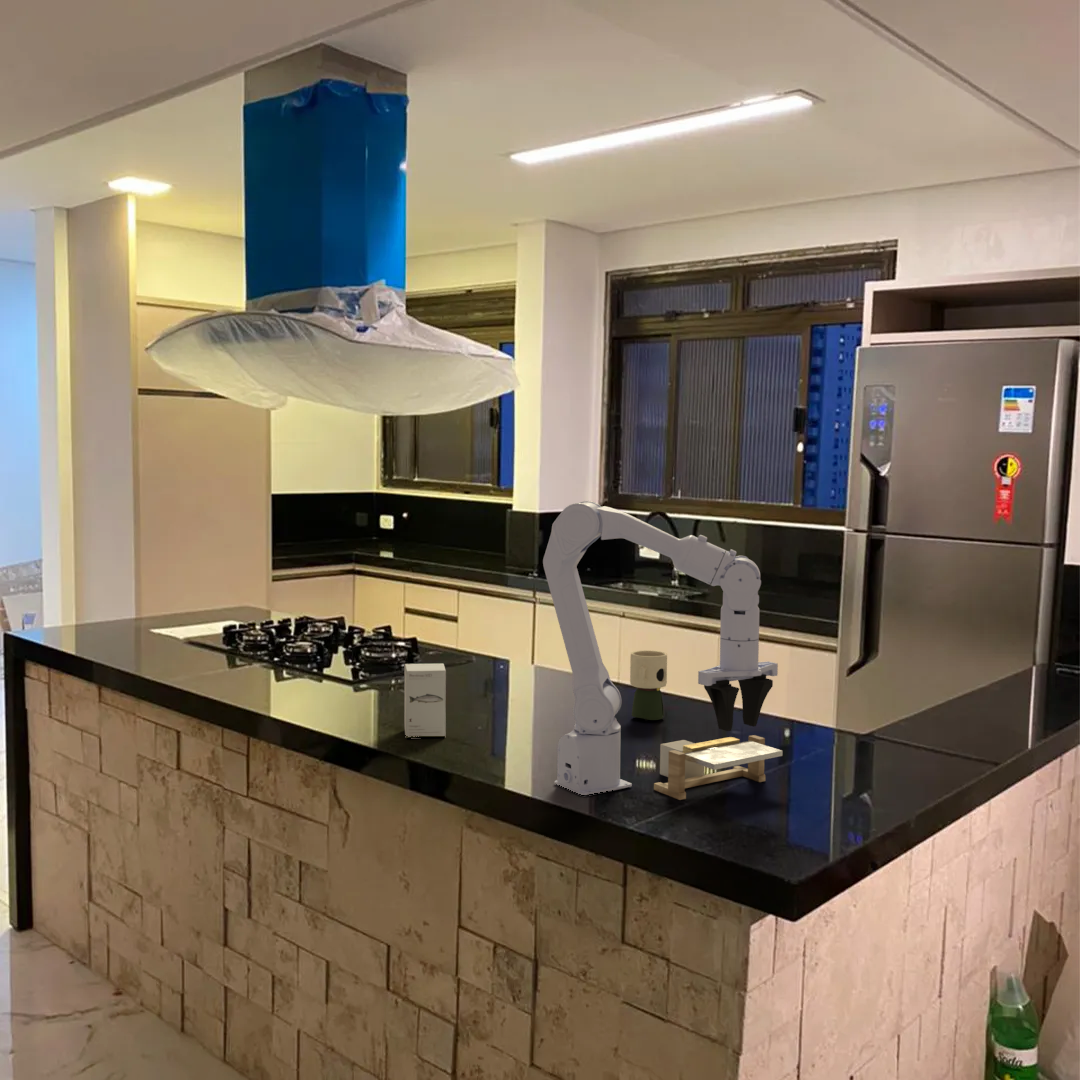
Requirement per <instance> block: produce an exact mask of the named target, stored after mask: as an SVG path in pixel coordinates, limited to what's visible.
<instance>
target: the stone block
mask: <svg viewBox="0 0 1080 1080" xmlns="http://www.w3.org/2000/svg"><path fill="white" fill-rule="evenodd" d="M689 744H695V742H693V741H689V740H686V739H681V740H676V741H671V742H666V743H660V751H659V752H660V753H659V757H660V758H659V775H661V776H664V777H667V778H668V760H669V751H672V750H676V751H679V752H682V753H683V746H684V745H689ZM702 775H705V766H702V765H699V764H696V763H693V762H691V761H688V760H685V779H688V778H693V777H697V776H702Z"/></svg>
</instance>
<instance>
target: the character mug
mask: <svg viewBox="0 0 1080 1080" xmlns="http://www.w3.org/2000/svg"><path fill="white" fill-rule="evenodd" d="M629 670H630V672H629V673H630V674H629V675H630V678H629V681H630V682H629V683H630V685H631V686H632V687H635V688H636V689H635V692H634V693H633V701H632V710H631V716H632V718H636V719H637V718H638V719H644V721H645V722H647V721H648V720H649V721H658V720H662V719H663V718H664V717H665V710H664V709H665V708H664V701H663V694H662V692H661V688H664V687H666V686H667V684H668V683H667V682H668V681H667V680H668V677H667V676H668V654H667V653H666V652H663V651H658V650H635V651H632V652H630V667H629Z"/></svg>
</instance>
